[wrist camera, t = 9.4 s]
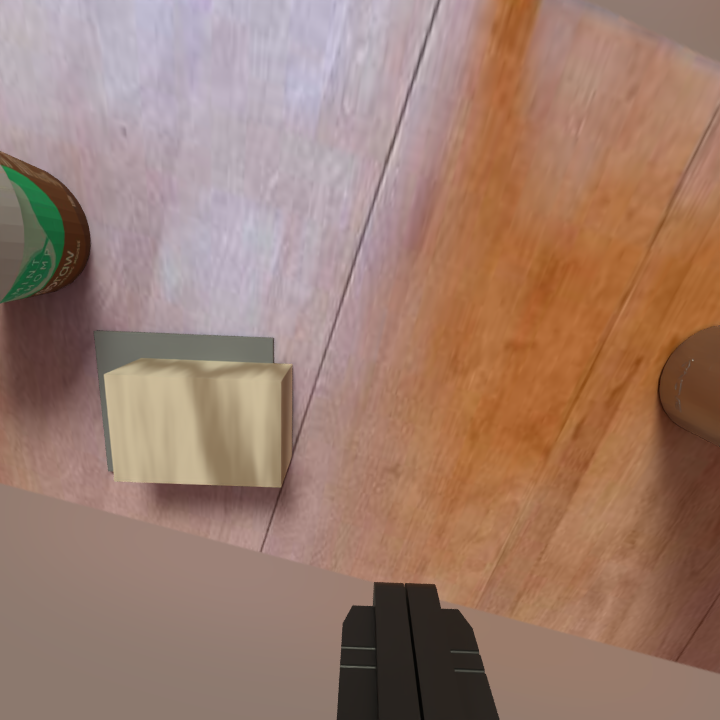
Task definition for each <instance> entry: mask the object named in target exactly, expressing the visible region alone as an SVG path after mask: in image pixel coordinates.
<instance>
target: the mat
mask: <svg viewBox="0 0 720 720" xmlns="http://www.w3.org/2000/svg"><path fill="white" fill-rule="evenodd" d="M94 340H95V349H96V359H97V369H98V378H99V388H100V398H101V407H102V417H103V427H104V436H105V446H106V456H107V465H108V471H113V462H112V452H111V442H110V432H109V422H108V412H107V402H106V392H105V382H104V374H106V373H108V372H110V371H113V370H115V369H117V368H119V367H122V366H124V365H126V364H129V363H131V362H133V361H136V360H138V359H140V358H154V359H179V360H203V361H228V362H253V363H274V338H267V337H243V336H219V335H194V334H170V333H146V332H122V331H94Z"/></svg>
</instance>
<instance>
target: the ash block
mask: <svg viewBox="0 0 720 720" xmlns="http://www.w3.org/2000/svg"><path fill="white" fill-rule="evenodd" d="M104 382H105V392H106V402H107V412H108V422H109V432H110V442H111V452H112V462H113V472H114V481H117V482H144V483H171V484H198V485H225V486H252V487H280V488H281V486H282V484H283V481H284V478H285V475H286V472H287V469H288V466H289V463H290V460H291V458H292V364H277V363H253V362H228V361H203V360H179V359H154V358H140V359H138V360H136V361H133V362H131V363H129V364H126V365H124V366H122V367H119V368H117V369H115V370H113V371H110V372H108V373H106V374H104Z"/></svg>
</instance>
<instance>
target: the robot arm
mask: <svg viewBox="0 0 720 720" xmlns="http://www.w3.org/2000/svg"><path fill="white" fill-rule="evenodd" d="M659 391H660V399H661V403H662V405H663V408H664V411H665V412H666V413H667V415H668V416H669V418H670V419H671V420H672V421H673V422H675V423H676V424H677V425H678V426H680V427H682V428H684V429H686V430H688V431H690V432H691V433H693V434H695V435H697V436H699V437H701V438H703V439H705V440H707V441H709V442H711V443H713V444H715V445H717V446H719V447H720V325H719V326H713V327H710V328H707V329H704V330H701V331H699V332H697V333H696V334H694V335H692V336H691V337H689V338H688V339H686V340H685V341H684V342H683V343H682V344H680V345H679V346H678V347H677V349H676V350H675V351H674V352H673V353H672V355H671V356H670V358H669V359H668V361H667V363H666V365H665V367H664V369H663V373H662V376H661V379H660V389H659ZM337 720H499V716H498V713H497V710H496V706H495V703H494V699H493V696H492V693H491V689H490V686H489V683H488V680H487V676H486V674H485V671H484V666H483V662H482V659H481V656H480V655H479V649H478V645H477V642H476V639H475V636H474V632H473V629H472V627H471V626H470V624H469V623H468V622H467V621H466V619H465V618H464V616H463V615H462V614H461V613H460V611H459V610H458V609H441V607H440V602H439V597H438V593H437V589H436V586H435V584H415V583H405V587H404V584H403V583H385V582H374V593H373V606H352V608H351V609H350V611H349V613H348V615H347V617H346V619H345V620H344V622H343V628H342V645H341V660H340V678H339V693H338V710H337Z"/></svg>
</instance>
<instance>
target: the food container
mask: <svg viewBox="0 0 720 720" xmlns="http://www.w3.org/2000/svg"><path fill="white" fill-rule="evenodd" d="M89 252H90V231H89V225H88V222H87V219H86V216H85V214H84V212H83V210H82V208H81V206H80V204H79V202H78V201H77V199H76V198H75V196H74V195H73V194H72V193H71V192H70V191H69V189H68V188H67V187H66V186H65V185H64V184H63V183H61V182H60V181H59V180H58V179H57V178H55V177H54V176H52V175H51V174H49V173H48V172H46V171H44V170H41V169H39V168H37V167H35V166H32V165H30V164H28V163H26V162H23V161H21V160H19V159H17V158H15V157H12V156H10V155H8V154H6V153H3V152H1V151H0V303H5V302H9V301H14V300H18V299H23V298H27V297H32V296H36V295H41V294H45V293H50V292H54V291H57V290H59V289H61V288H63V287H65V286H67V285H69V284H71V283H72V282H73V281H74V280H75V279H76V278H77V277H78V276H79V275H80V274H81V272H82V271H83V269H84V267H85V265H86V263H87V260H88V257H89Z"/></svg>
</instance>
